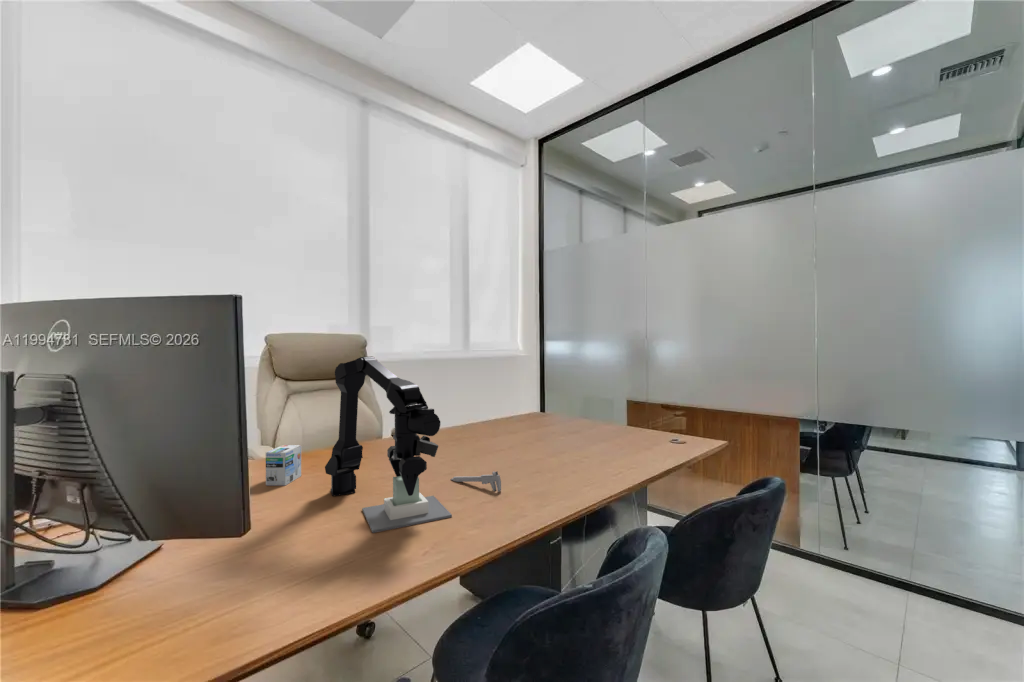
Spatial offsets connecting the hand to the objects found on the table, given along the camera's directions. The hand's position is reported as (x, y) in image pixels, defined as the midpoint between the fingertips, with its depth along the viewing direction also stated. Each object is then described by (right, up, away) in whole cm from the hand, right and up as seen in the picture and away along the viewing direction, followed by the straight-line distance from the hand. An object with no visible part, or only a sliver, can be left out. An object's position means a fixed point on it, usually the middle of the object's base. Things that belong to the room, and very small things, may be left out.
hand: (406, 490), depth 116 cm
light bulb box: (-47, -7, +28) cm, 56 cm away
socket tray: (0, -6, 0) cm, 6 cm away
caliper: (+16, -7, +22) cm, 28 cm away
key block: (0, -6, 0) cm, 6 cm away
